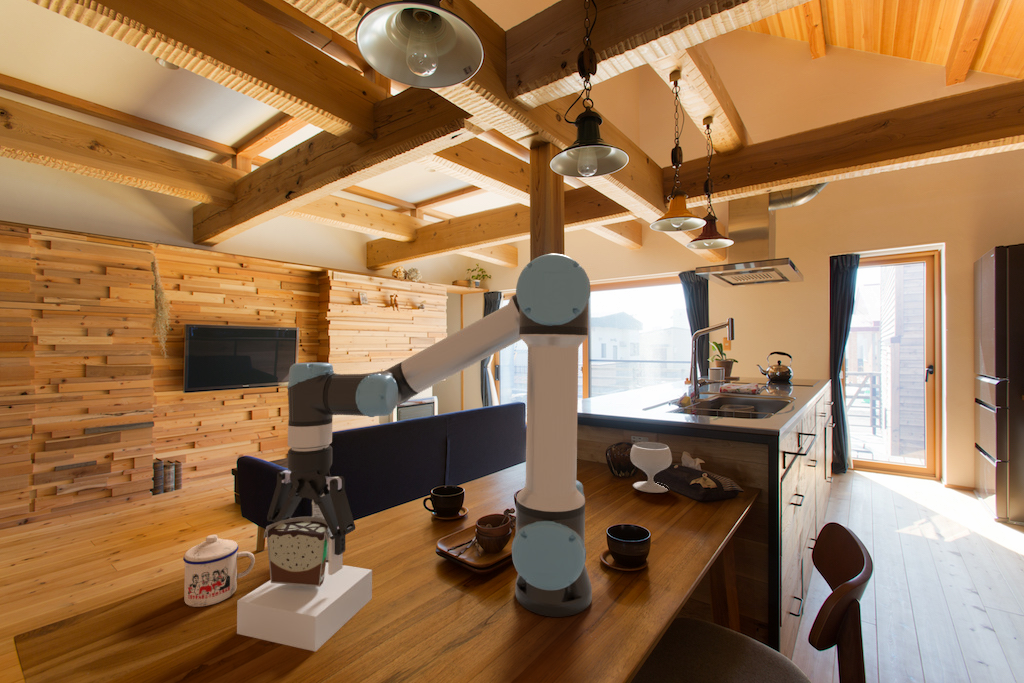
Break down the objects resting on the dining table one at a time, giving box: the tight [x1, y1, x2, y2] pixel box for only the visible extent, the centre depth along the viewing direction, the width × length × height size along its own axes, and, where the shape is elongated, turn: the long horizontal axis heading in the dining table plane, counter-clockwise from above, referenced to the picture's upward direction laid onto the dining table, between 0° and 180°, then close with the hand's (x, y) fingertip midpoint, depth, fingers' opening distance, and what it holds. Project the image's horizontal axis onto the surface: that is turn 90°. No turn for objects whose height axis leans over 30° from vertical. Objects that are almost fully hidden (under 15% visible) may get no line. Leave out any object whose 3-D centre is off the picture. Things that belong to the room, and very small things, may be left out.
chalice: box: [629, 441, 673, 494], centre depth 159 cm, size 14×14×15 cm
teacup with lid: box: [182, 534, 256, 608], centre depth 90 cm, size 12×9×12 cm
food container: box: [263, 516, 332, 587], centre depth 84 cm, size 12×6×10 cm, turn 83°
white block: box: [236, 561, 373, 652], centre depth 83 cm, size 16×16×6 cm
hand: (309, 565), depth 83 cm, fingers closed on food container, 11 cm apart
